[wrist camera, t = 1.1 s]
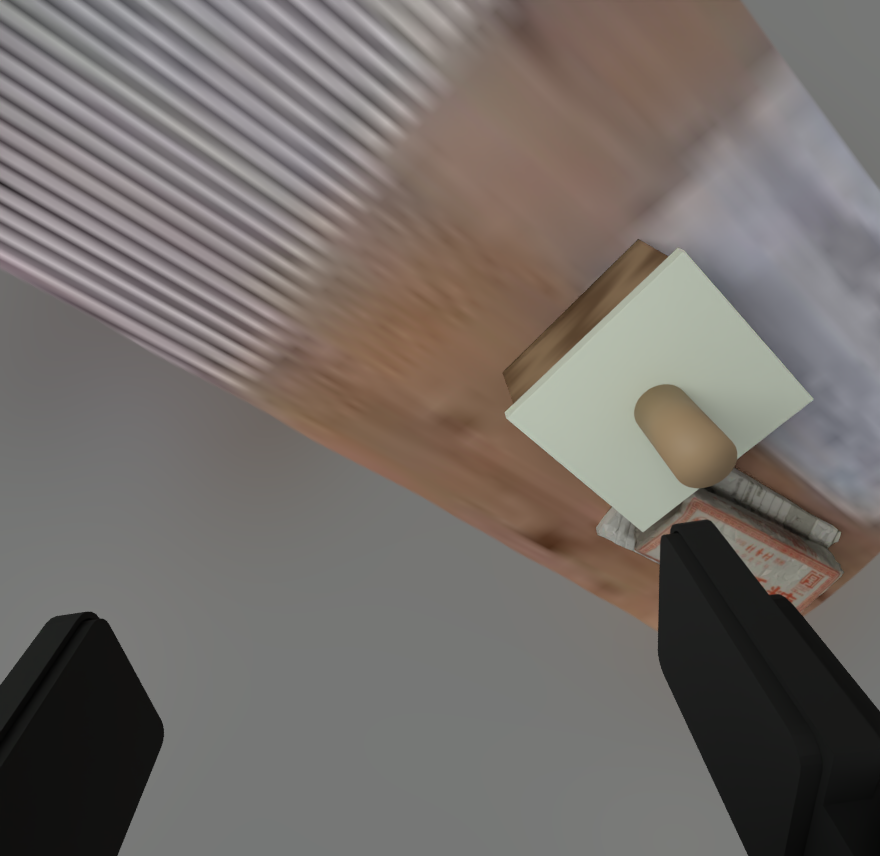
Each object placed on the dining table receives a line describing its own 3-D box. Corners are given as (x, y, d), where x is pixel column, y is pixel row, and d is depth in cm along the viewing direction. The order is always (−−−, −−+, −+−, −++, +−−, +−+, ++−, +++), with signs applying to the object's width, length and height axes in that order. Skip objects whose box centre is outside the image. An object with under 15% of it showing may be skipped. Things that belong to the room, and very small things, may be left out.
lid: (678, 247, 32) (741, 279, 26) (806, 393, 36) (885, 450, 30) (504, 412, 36) (523, 473, 30) (638, 524, 40) (678, 597, 34)
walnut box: (638, 239, 37) (676, 260, 32) (745, 358, 41) (794, 394, 36) (502, 372, 41) (516, 411, 36) (613, 468, 45) (639, 516, 40)
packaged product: (875, 561, 45) (780, 643, 49) (835, 522, 49) (750, 600, 53) (699, 464, 40) (608, 565, 44) (671, 430, 44) (591, 524, 48)
